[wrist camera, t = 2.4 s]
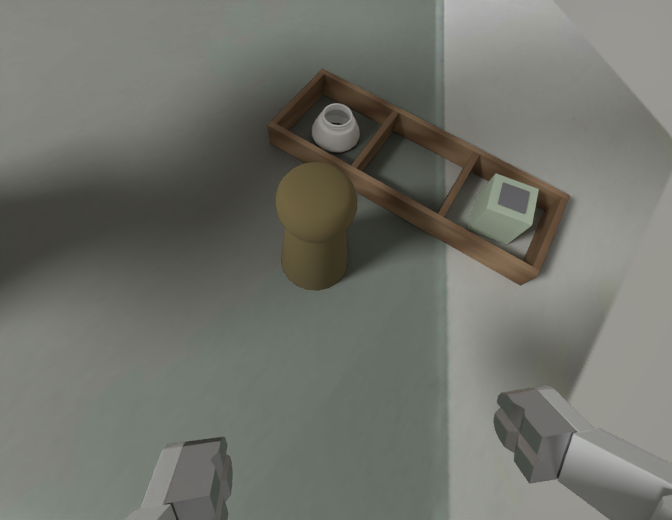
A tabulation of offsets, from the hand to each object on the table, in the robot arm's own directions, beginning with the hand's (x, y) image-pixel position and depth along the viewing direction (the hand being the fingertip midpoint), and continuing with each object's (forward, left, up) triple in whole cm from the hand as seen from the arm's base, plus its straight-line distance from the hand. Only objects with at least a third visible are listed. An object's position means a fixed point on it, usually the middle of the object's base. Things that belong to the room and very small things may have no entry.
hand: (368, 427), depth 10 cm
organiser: (-5, +23, -17) cm, 28 cm away
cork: (-8, +10, -17) cm, 21 cm away
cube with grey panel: (+4, +23, -17) cm, 28 cm away
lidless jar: (-14, +23, -17) cm, 32 cm away
